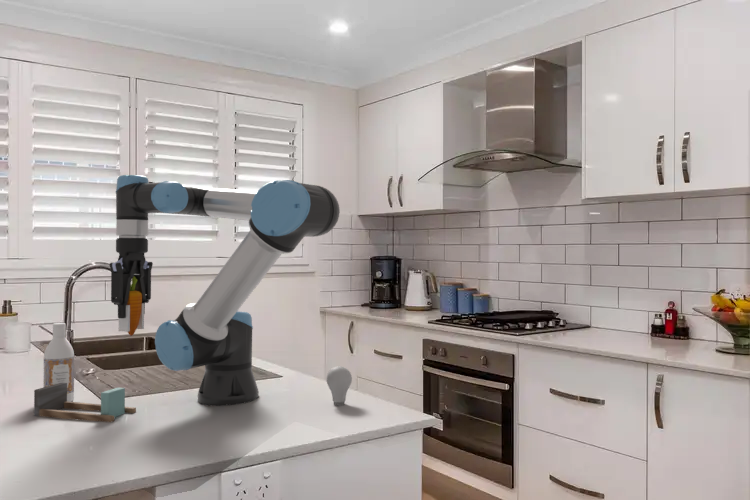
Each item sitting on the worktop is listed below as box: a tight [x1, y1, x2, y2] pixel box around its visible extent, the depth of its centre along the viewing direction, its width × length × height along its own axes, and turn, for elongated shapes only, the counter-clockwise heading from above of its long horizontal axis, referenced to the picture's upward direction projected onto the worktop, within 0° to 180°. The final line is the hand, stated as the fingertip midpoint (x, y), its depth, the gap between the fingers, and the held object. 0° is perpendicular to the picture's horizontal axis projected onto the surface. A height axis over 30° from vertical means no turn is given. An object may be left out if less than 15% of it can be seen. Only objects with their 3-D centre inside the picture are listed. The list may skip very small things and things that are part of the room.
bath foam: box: [43, 322, 75, 402], centre depth 160 cm, size 7×7×20 cm
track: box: [33, 383, 137, 423], centre depth 148 cm, size 22×8×6 cm, turn 73°
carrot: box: [127, 276, 142, 337], centre depth 159 cm, size 5×5×15 cm
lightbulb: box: [326, 365, 353, 407], centre depth 152 cm, size 6×6×11 cm
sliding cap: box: [100, 387, 126, 418], centre depth 146 cm, size 2×6×6 cm, turn 163°
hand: (131, 329), depth 159 cm, fingers closed on carrot, 5 cm apart
